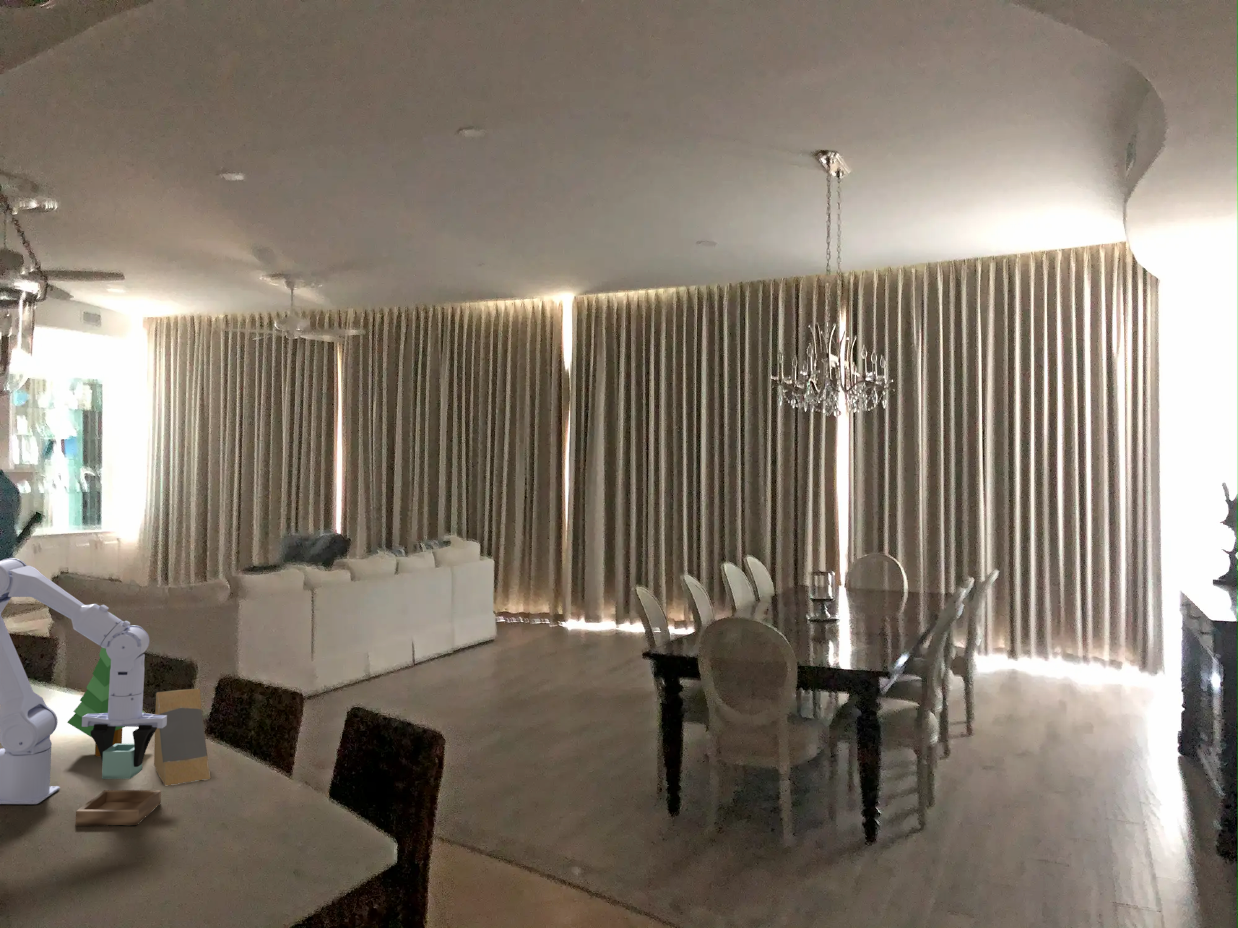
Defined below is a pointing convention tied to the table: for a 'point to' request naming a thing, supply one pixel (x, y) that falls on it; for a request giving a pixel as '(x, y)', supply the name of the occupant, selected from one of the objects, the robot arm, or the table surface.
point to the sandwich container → (181, 738)
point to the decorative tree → (96, 699)
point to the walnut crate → (118, 807)
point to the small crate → (119, 762)
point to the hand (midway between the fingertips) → (122, 764)
